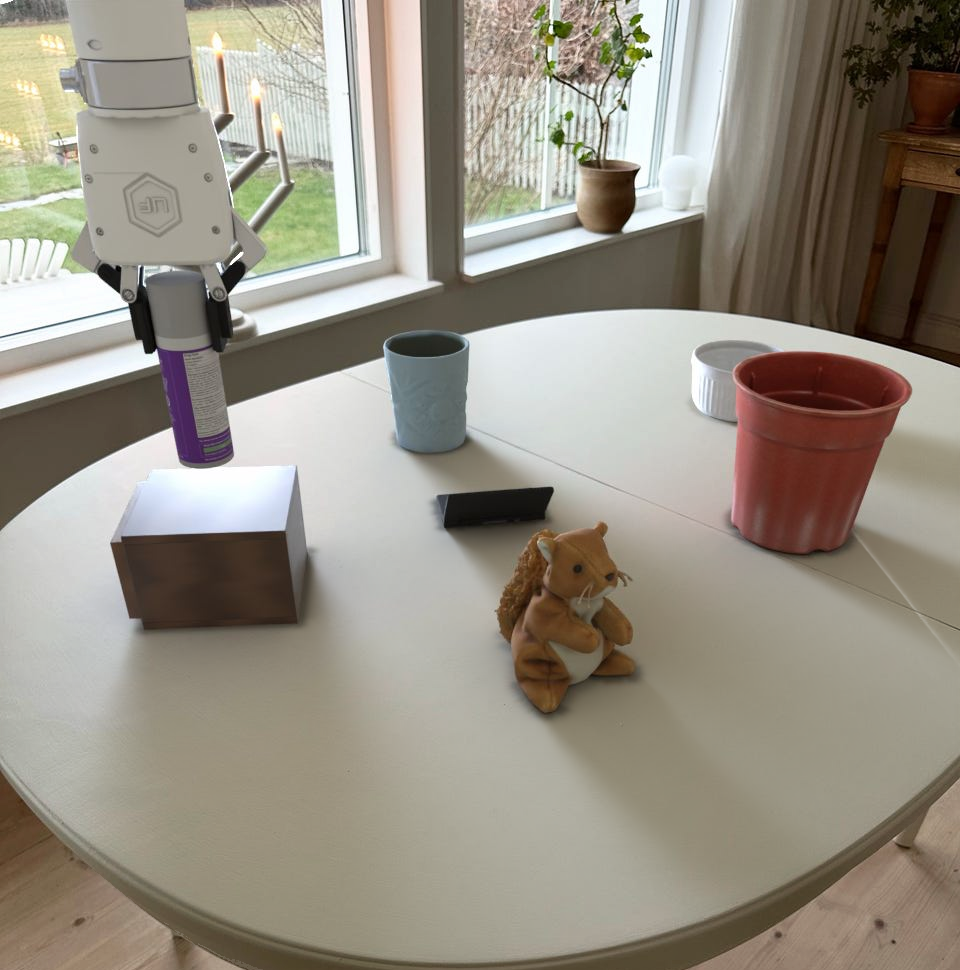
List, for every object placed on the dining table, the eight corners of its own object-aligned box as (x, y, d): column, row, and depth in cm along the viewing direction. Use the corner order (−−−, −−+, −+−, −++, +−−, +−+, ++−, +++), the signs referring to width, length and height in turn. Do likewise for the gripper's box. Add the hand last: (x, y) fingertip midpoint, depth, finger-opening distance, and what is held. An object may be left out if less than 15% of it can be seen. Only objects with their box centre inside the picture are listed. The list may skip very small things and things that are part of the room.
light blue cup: (452, 461, 113) (450, 362, 106) (374, 448, 116) (368, 351, 109) (481, 428, 121) (481, 334, 114) (408, 417, 124) (404, 324, 117)
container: (168, 456, 83) (132, 277, 74) (217, 441, 85) (187, 266, 76) (195, 474, 80) (161, 290, 71) (244, 458, 82) (217, 279, 74)
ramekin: (805, 406, 127) (815, 354, 123) (756, 436, 119) (766, 382, 115) (717, 381, 134) (724, 332, 130) (666, 409, 126) (672, 357, 122)
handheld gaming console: (524, 472, 107) (538, 429, 97) (547, 529, 105) (563, 492, 96) (427, 501, 105) (431, 460, 95) (448, 560, 103) (455, 524, 94)
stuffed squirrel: (547, 723, 75) (555, 581, 67) (463, 632, 85) (462, 499, 77) (649, 685, 79) (669, 547, 71) (557, 602, 89) (565, 473, 81)
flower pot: (685, 498, 106) (706, 355, 96) (821, 484, 108) (854, 344, 99) (749, 575, 93) (780, 419, 83) (902, 558, 95) (949, 404, 86)
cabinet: (143, 630, 85) (120, 536, 79) (169, 557, 95) (150, 469, 89) (298, 624, 86) (285, 530, 80) (307, 552, 96) (297, 465, 90)
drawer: (115, 619, 85) (95, 543, 80) (142, 553, 94) (125, 482, 89) (271, 613, 86) (260, 537, 81) (282, 548, 95) (273, 477, 90)
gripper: (-3, 95, 63) (66, 366, 73) (258, 93, 64) (289, 361, 74) (31, 82, 69) (91, 334, 79) (270, 81, 70) (297, 330, 80)
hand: (186, 345), depth 77 cm, fingers closed on container, 4 cm apart
